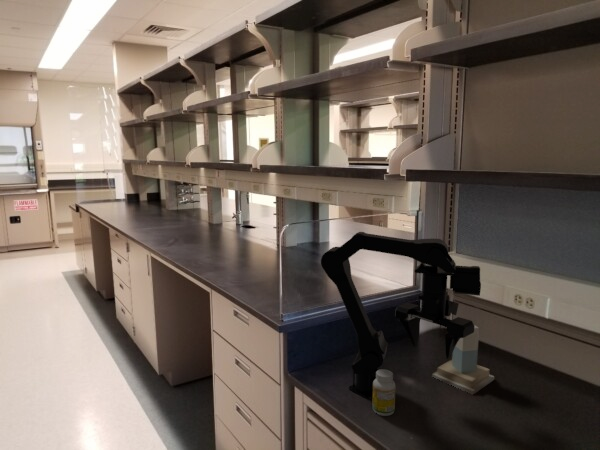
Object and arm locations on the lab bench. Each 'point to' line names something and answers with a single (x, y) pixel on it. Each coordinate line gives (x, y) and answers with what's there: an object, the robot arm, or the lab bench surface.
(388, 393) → the supplement bottle
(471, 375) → the tower base
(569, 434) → the lab bench surface
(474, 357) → the white and blue box
